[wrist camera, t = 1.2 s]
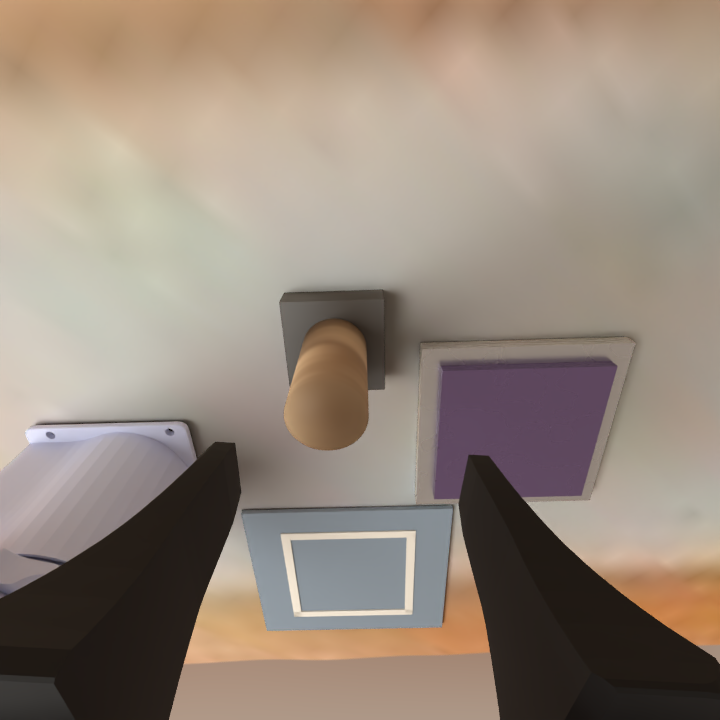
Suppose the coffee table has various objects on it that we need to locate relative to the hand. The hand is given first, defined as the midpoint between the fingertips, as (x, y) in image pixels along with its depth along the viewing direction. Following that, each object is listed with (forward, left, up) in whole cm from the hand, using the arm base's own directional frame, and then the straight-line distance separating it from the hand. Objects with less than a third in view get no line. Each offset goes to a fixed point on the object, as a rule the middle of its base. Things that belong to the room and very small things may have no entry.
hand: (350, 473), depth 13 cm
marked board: (-1, -19, -11) cm, 22 cm away
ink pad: (+9, -6, -11) cm, 15 cm away
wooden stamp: (-1, 0, -11) cm, 11 cm away
